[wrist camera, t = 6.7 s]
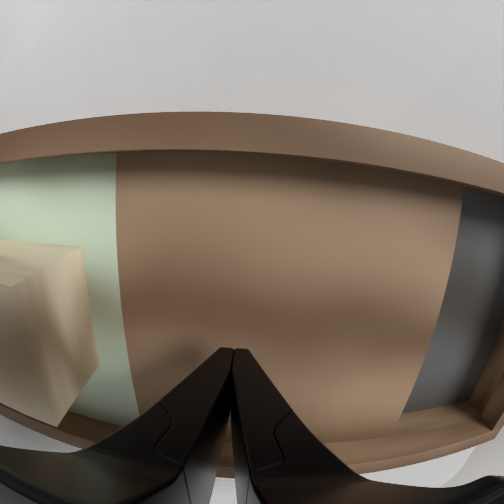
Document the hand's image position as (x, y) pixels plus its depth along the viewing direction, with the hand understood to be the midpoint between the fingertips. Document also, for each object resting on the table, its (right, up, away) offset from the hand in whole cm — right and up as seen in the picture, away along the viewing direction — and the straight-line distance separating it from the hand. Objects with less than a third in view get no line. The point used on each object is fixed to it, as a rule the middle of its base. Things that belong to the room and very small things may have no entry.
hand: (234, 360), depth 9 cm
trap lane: (-2, +1, +4) cm, 4 cm away
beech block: (-8, +1, +2) cm, 8 cm away
